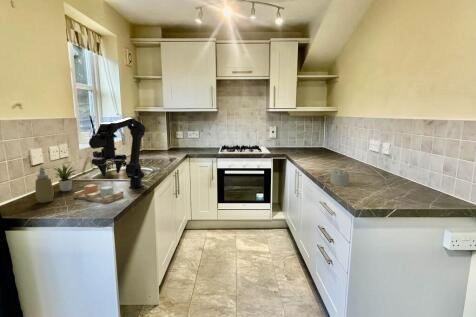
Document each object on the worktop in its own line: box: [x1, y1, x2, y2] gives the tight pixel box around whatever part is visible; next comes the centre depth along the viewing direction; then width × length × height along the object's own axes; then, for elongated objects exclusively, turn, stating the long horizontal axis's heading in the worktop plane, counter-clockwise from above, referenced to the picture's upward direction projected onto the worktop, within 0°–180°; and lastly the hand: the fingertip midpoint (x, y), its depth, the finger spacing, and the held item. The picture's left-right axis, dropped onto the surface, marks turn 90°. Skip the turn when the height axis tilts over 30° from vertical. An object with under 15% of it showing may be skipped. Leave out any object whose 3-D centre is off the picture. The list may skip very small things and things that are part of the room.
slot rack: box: [74, 189, 124, 204], centre depth 152 cm, size 12×23×3 cm, turn 67°
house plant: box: [52, 163, 77, 192], centre depth 164 cm, size 14×14×16 cm
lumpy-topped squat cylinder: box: [329, 169, 350, 187], centre depth 180 cm, size 10×13×9 cm
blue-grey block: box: [99, 185, 114, 198], centre depth 149 cm, size 4×4×5 cm
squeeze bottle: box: [35, 167, 55, 204], centre depth 143 cm, size 8×8×18 cm
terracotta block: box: [83, 183, 98, 195], centre depth 154 cm, size 4×4×5 cm
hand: (111, 174), depth 151 cm, fingers open, 9 cm apart
